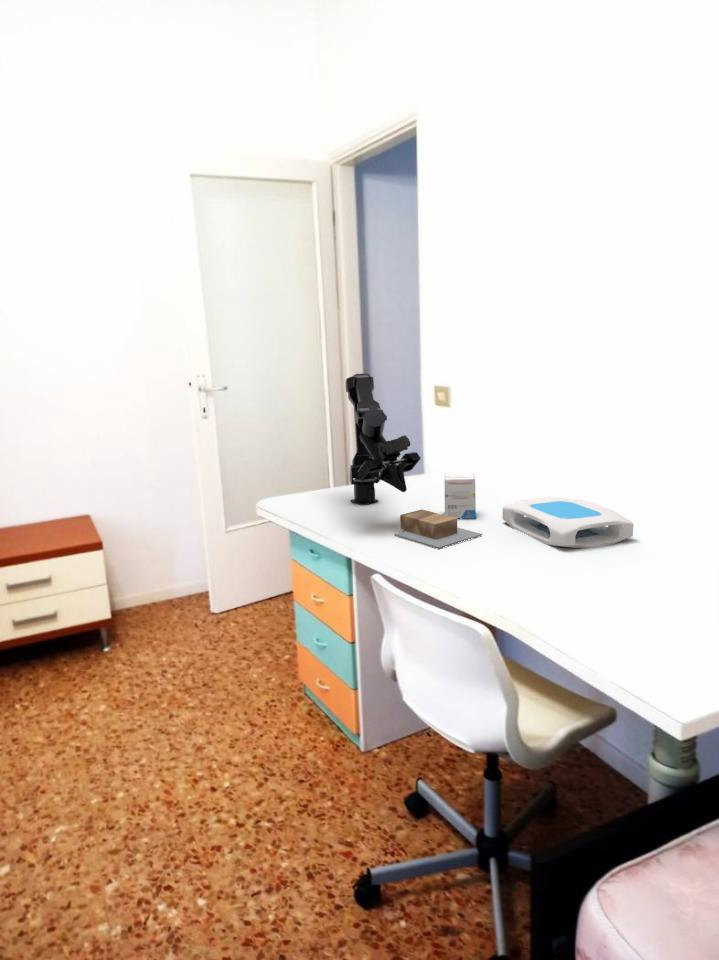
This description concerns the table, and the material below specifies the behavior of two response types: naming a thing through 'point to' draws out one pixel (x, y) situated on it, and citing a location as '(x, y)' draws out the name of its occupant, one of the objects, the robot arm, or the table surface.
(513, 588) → the table surface
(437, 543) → the mat
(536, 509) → the white blue plastic platform
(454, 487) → the ink box
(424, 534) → the walnut domino block
